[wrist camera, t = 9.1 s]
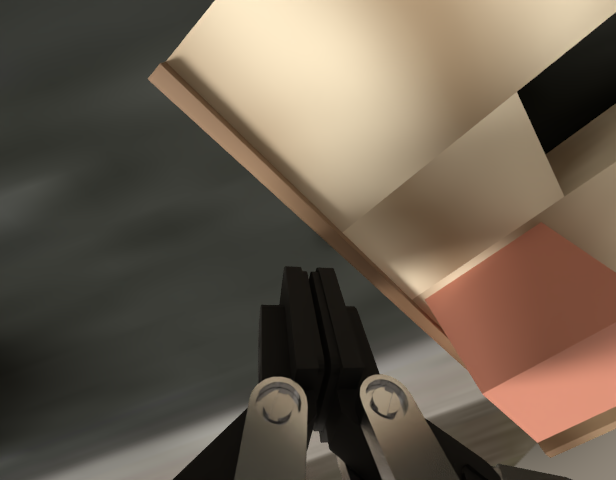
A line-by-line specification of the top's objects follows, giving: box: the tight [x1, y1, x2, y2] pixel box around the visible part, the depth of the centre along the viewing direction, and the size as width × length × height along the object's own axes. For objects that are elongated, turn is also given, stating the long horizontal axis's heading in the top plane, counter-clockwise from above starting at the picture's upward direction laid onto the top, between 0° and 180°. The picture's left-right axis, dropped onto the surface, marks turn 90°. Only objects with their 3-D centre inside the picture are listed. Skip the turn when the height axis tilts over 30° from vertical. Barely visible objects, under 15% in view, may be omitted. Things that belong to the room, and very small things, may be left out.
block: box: [425, 222, 616, 443], centre depth 13 cm, size 6×6×4 cm
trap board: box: [148, 0, 616, 458], centre depth 13 cm, size 14×28×5 cm, turn 42°
